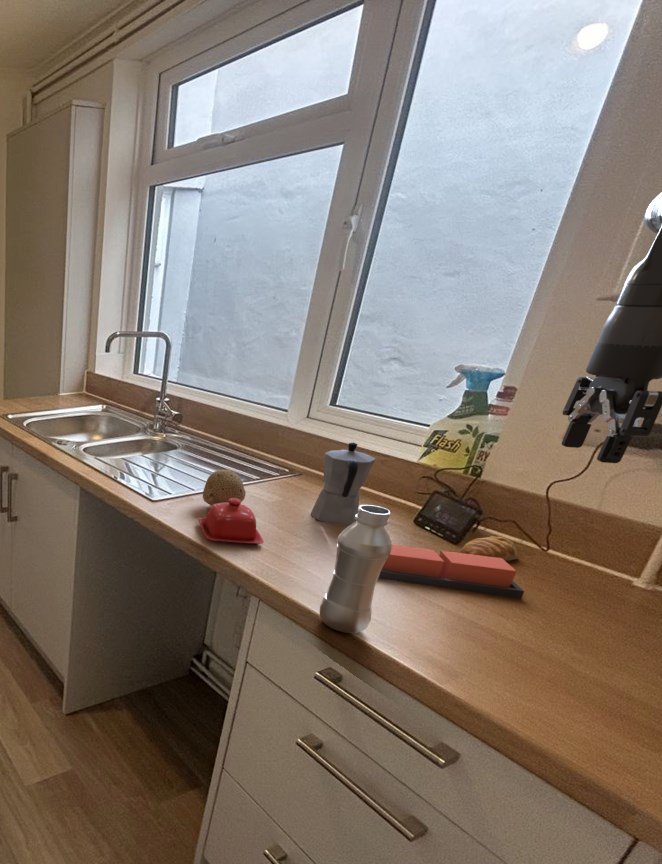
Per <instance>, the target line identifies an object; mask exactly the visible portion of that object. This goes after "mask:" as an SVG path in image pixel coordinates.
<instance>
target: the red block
mask: <svg viewBox="0 0 662 864" xmlns="http://www.w3.org/2000/svg"><path fill="white" fill-rule="evenodd" d="M438 555H439V556H440V557H441V559H442V560H443V561H444V564H443V567H442V569H441V572H440V575H439V576H440V577H441V578H445V579H452V580H459V581H467V582H474V583H481V584H488V585H495V586H502V587H509V588H510V586H511V583H512V581H514V579H515V576H516V574H517V573H518V572H517V570H516V569H515V568H514V567H512V566H511V564H510V563H508V561H505V560H504V559H502V558H496V557H488V556H480V555H472V554H464V553H461V552H455V551H447V550H440V552H439V553H438Z"/></svg>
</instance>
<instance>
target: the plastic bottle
mask: <svg viewBox="0 0 662 864" xmlns="http://www.w3.org/2000/svg"><path fill="white" fill-rule="evenodd" d="M390 515H391V511H390V510H389V509H388V508H385V507H383V506H379V505H373V504H361V505H359V508H358V512H357V514H356V516H355V519H356V520H357V521H356V522H355V523H353V524H351V525H349V526H347V527H346V528H344V529H343V530H342V531H341V532H340V533H339V535H338V537H337V541H336V542H337V544H336V556H335V564H334V570H333V574H332V578H331V580H330V583H329V586H328V588H327V591H326V593H325V595H324V596H323V597H322V600H321V602H320V604H319V617H320V619H321V621H322V622H323V623H324V625H326V626H327V627H329V628H330V629H333V630H335V631H338V632H340V633H346V634H358V633H361V632H362V631H364V630H366V629H367V628H368V625H369V624H370V622H371V620H372V613H373V605H372V604H373V599H374V594H375V588H376V586H377V583H378V582H377V581H378V580H379V579H378V577H379V575H380V572H381V570H382V568H383V566H384V564H385V562H386V560H387V558H388V556H389V554H390V552H391V549H392V544H393V543H392V540H391V538H390V535H389V533H388V532H387V530H386V528H385V526H388V524H389V518H390Z"/></svg>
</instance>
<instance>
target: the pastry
mask: <svg viewBox="0 0 662 864" xmlns="http://www.w3.org/2000/svg"><path fill="white" fill-rule="evenodd" d="M463 545H464V546H463V547H462V548H461V549H460V553H464V554H472V555H480V556H488V557H496V558H502V559H504V560H505V561H506V562H510V561H513V560H516V559H517V558H519V554H518V552H517V548H516V547H515V543H514V542H513V541H512V540H510V539H508V538H505V537H503V536H494V535H490V536H486V537H477V538H474V539H472V540H470V541H468V542H466V543H465V544H463Z"/></svg>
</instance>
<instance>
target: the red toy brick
mask: <svg viewBox="0 0 662 864" xmlns="http://www.w3.org/2000/svg"><path fill="white" fill-rule="evenodd" d="M391 544H392V549H391V552H390V554H389V556H388V558H387V560H386V562H385V564H384V566H383V568H382V570H388V571H396V572H403V573H410V574H417V575H424V576H431V577H438V578H439V575H440V572H441V569H442V567H443V564H444V561H443V560H442V559H441V557H440V556H439V553H437V552H436V550H435V549H431V548H423V547H416V546H408V545H400V544H399V545H398V544H394V543H391Z"/></svg>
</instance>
